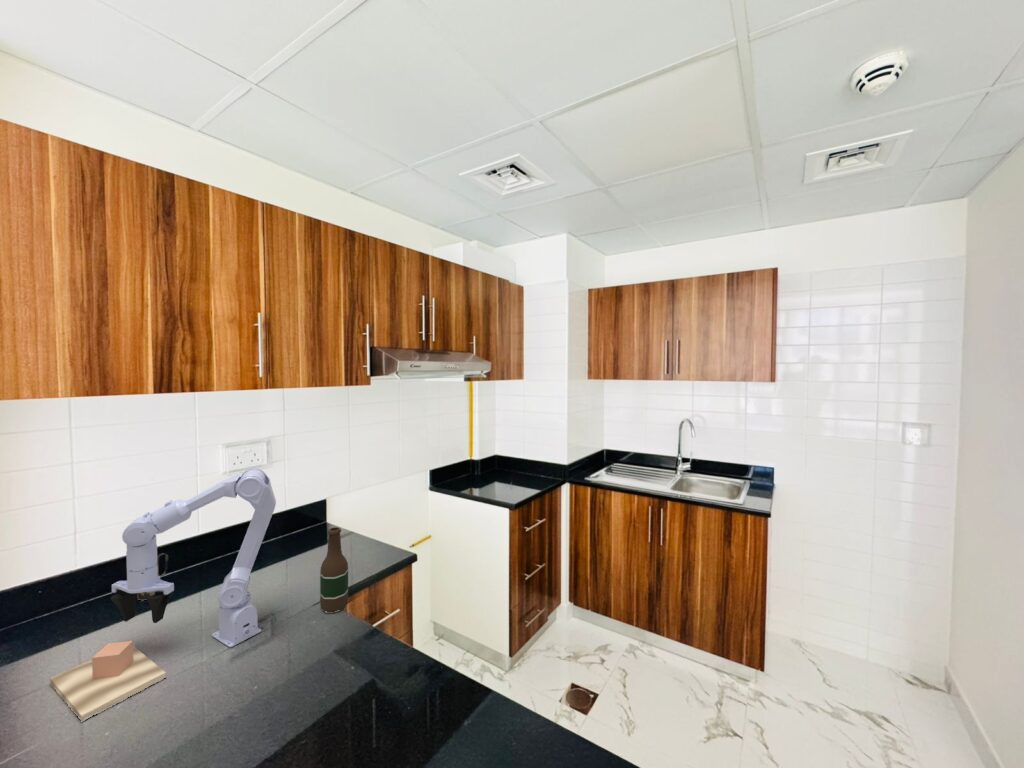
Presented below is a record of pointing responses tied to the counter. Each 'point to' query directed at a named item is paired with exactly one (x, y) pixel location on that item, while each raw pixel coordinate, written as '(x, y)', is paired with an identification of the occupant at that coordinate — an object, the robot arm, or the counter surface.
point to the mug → (146, 595)
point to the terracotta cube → (112, 659)
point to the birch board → (104, 684)
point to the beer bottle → (334, 575)
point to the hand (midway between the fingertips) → (143, 619)
